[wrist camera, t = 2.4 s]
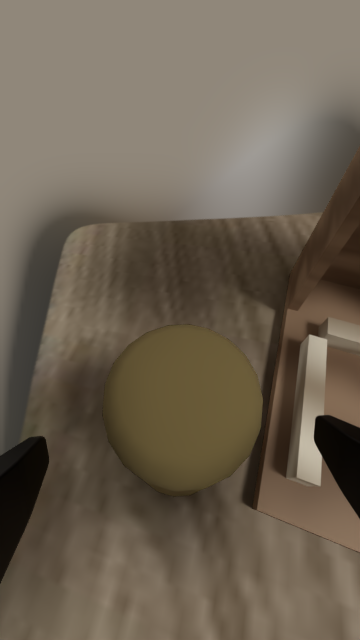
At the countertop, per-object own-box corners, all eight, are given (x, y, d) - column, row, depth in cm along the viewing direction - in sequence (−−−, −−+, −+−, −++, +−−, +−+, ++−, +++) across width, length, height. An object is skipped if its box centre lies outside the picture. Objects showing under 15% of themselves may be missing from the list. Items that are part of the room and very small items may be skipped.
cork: (112, 468, 16) (23, 444, 6) (156, 379, 19) (138, 275, 9) (207, 517, 14) (266, 574, 5) (237, 413, 17) (308, 333, 8)
